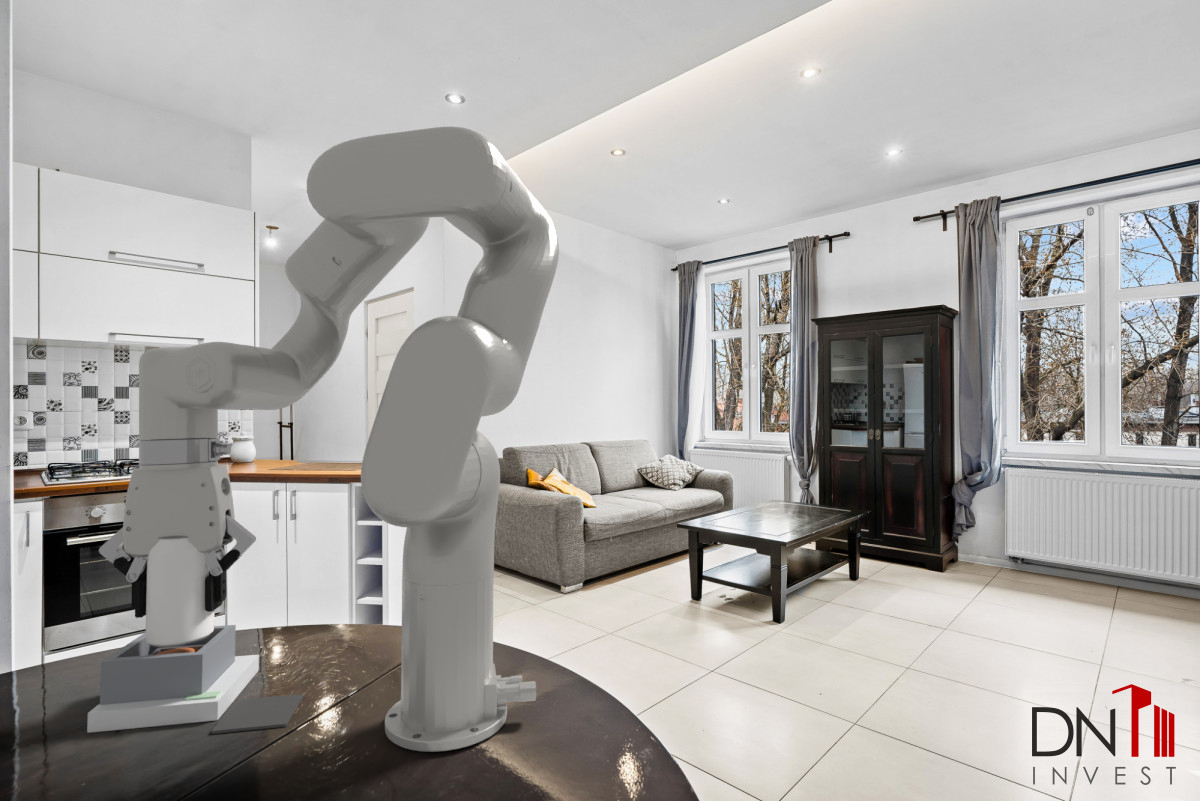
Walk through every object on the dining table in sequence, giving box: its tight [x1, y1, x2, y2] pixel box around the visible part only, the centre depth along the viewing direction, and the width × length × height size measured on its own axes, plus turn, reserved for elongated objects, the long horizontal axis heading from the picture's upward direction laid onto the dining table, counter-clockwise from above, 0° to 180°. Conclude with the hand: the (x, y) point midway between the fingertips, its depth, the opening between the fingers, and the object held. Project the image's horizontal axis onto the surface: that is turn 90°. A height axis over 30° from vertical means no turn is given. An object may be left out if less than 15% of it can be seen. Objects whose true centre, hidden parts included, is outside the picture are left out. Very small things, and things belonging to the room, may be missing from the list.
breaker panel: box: [86, 624, 260, 734], centre depth 69 cm, size 12×13×6 cm
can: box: [145, 536, 215, 648], centre depth 69 cm, size 6×6×12 cm
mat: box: [210, 693, 304, 735], centre depth 66 cm, size 7×7×1 cm
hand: (180, 609), depth 69 cm, fingers closed on can, 6 cm apart
